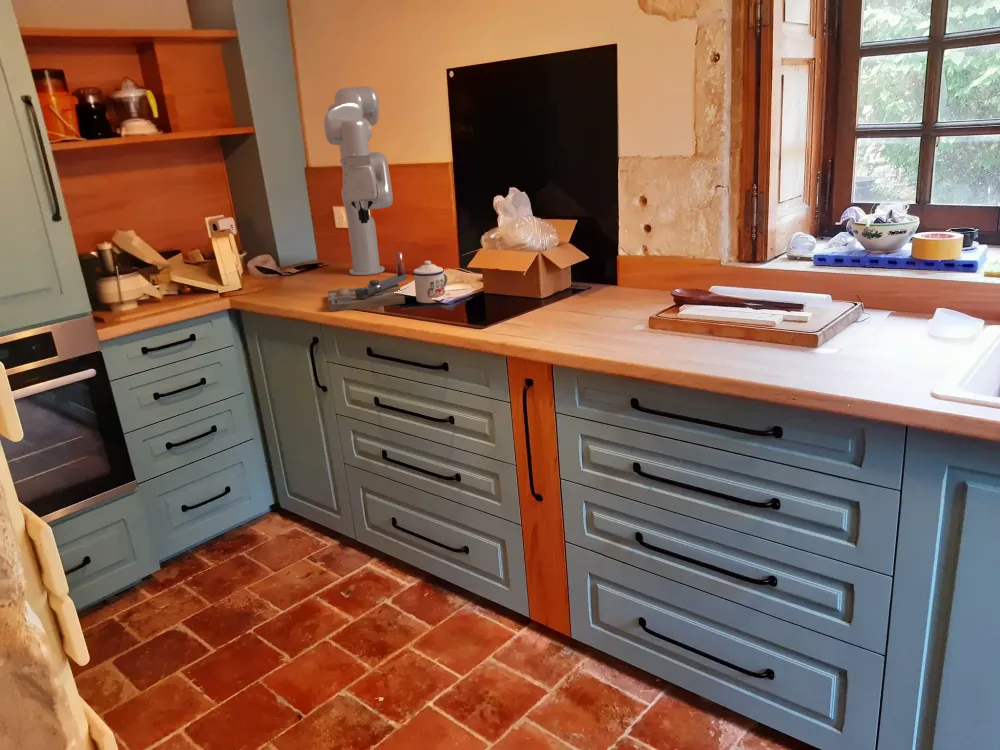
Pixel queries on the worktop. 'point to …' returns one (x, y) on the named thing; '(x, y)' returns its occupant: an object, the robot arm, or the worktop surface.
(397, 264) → the lever
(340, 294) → the walnut
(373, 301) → the nutcracker base
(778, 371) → the worktop surface
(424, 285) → the teacup with lid
